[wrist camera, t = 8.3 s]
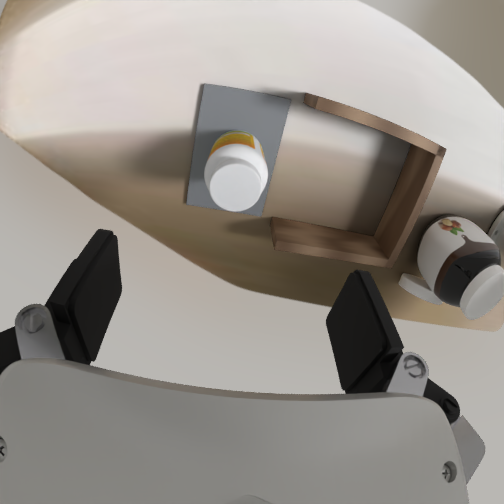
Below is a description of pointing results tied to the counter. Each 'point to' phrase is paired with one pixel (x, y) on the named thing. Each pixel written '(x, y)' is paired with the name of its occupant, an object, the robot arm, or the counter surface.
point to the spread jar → (457, 267)
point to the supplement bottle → (236, 171)
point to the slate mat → (229, 119)
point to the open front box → (395, 216)
